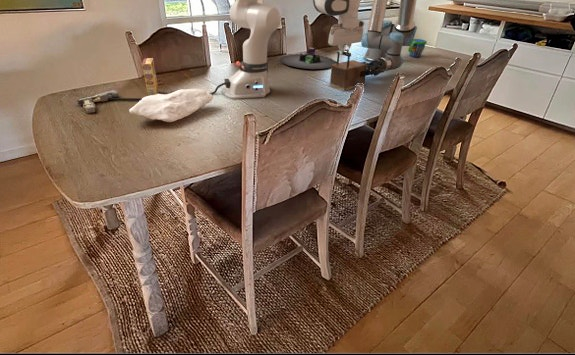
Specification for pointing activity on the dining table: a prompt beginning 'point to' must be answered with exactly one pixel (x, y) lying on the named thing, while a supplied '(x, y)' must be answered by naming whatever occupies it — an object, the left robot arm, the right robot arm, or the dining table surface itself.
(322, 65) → the round grey tray
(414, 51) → the snack cup
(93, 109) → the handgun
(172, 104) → the crumpled cloth
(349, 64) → the lid
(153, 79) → the candy box
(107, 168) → the dining table surface
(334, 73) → the chest
